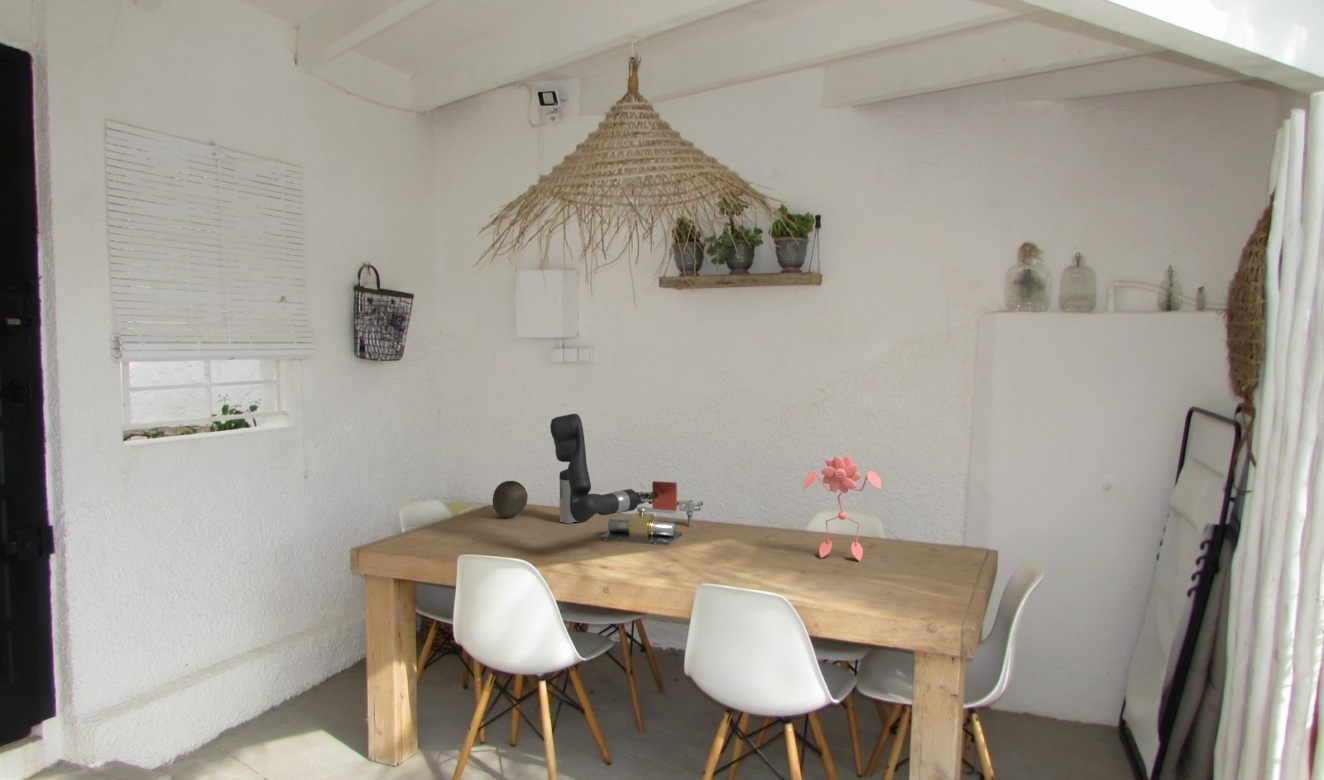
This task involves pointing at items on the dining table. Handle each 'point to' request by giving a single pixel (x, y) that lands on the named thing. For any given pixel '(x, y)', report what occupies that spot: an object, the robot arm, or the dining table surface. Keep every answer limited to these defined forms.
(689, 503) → the mechanical component
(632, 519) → the valve stand
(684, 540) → the dining table surface
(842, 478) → the flower figure
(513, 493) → the kiwi fruit
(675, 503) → the valve lever
